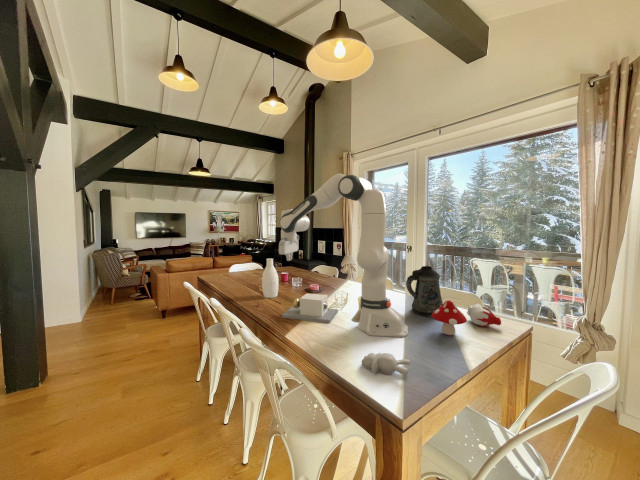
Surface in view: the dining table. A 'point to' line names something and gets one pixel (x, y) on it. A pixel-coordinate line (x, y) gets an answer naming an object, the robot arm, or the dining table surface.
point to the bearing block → (311, 309)
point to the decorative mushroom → (449, 317)
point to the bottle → (270, 280)
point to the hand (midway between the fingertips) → (289, 260)
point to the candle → (482, 315)
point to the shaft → (297, 303)
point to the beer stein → (425, 291)
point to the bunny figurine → (384, 363)
